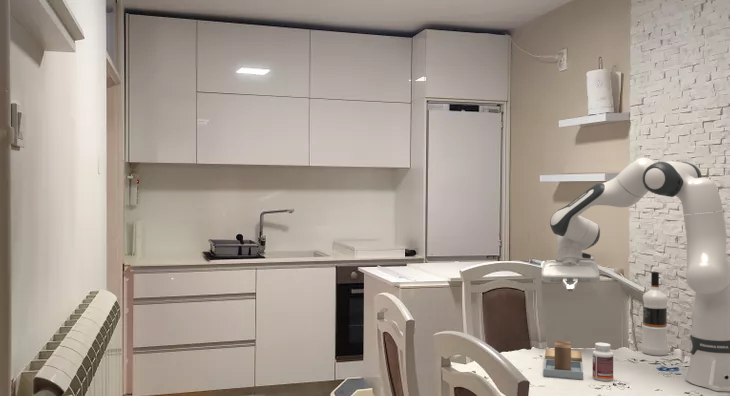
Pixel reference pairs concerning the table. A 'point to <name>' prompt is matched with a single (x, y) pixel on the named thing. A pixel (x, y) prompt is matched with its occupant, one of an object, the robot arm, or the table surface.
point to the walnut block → (562, 355)
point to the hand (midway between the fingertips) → (570, 290)
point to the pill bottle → (602, 362)
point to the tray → (574, 374)
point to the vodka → (654, 320)
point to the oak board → (574, 355)
